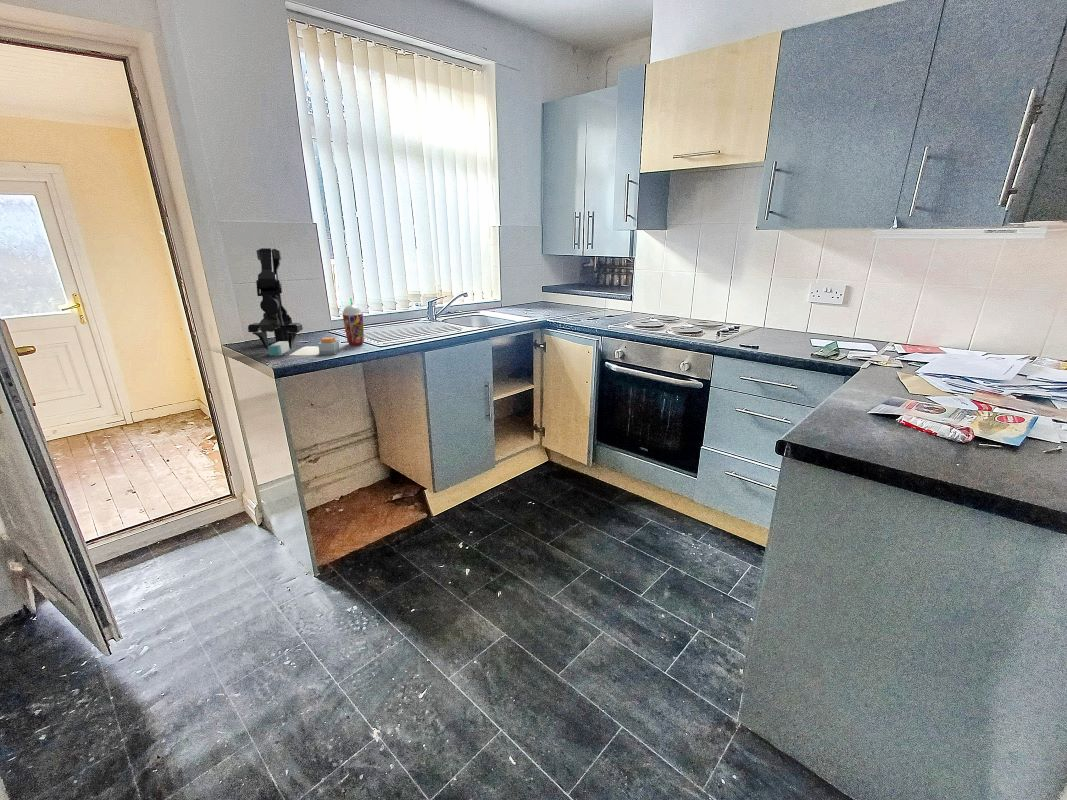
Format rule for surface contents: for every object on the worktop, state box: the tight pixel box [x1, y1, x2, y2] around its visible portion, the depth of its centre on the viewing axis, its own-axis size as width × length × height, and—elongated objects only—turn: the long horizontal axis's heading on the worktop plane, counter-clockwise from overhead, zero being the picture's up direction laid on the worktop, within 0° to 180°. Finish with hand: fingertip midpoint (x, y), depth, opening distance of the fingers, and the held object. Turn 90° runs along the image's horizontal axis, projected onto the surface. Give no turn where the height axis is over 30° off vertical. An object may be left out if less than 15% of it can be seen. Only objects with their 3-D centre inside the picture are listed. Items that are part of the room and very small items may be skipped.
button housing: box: [317, 339, 341, 356], centre depth 188 cm, size 6×6×4 cm
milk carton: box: [267, 341, 290, 356], centre depth 187 cm, size 10×4×4 cm, turn 4°
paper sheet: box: [289, 345, 320, 356], centre depth 191 cm, size 16×11×1 cm
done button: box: [320, 336, 336, 343], centre depth 187 cm, size 4×4×3 cm
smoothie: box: [342, 297, 365, 347], centre depth 201 cm, size 8×8×20 cm
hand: (279, 348), depth 187 cm, fingers open, 9 cm apart
